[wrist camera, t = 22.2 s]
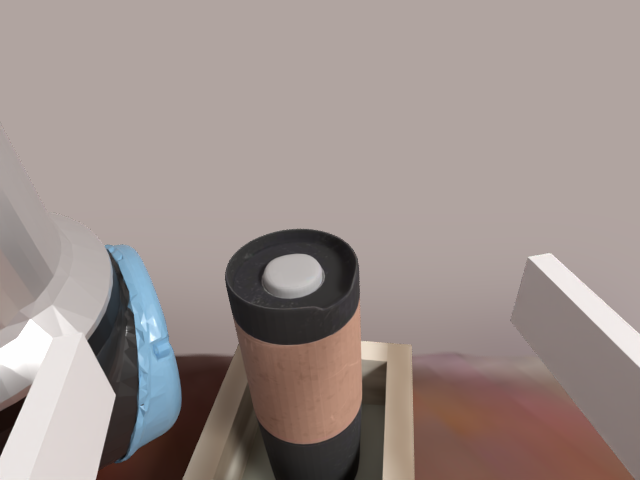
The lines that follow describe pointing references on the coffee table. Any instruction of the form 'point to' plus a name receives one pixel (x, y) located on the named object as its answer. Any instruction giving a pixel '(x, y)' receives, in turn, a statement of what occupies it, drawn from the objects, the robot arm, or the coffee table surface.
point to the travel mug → (301, 349)
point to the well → (376, 423)
